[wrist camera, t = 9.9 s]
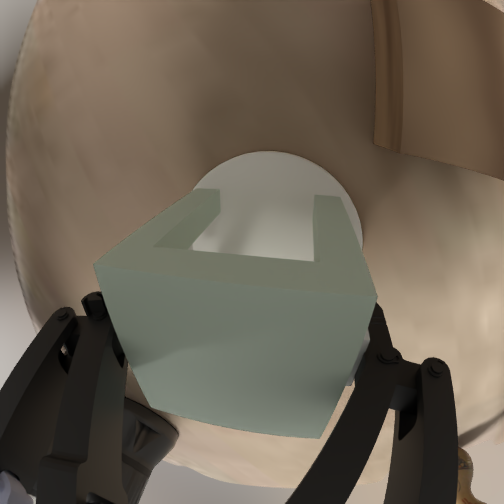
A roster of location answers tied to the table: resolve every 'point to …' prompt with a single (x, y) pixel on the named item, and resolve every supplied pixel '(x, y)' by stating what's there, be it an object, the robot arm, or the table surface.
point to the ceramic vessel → (465, 479)
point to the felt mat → (269, 206)
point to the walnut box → (441, 81)
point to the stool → (239, 320)
